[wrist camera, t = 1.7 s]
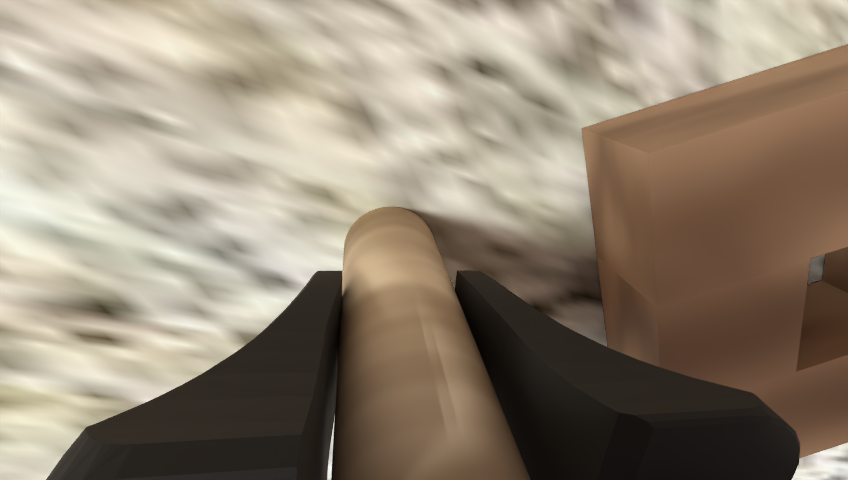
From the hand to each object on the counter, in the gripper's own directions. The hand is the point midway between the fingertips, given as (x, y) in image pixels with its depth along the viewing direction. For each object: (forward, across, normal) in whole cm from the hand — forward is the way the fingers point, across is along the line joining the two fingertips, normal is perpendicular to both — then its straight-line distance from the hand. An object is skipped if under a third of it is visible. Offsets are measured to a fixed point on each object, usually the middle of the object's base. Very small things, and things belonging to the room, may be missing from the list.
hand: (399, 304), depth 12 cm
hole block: (+3, -15, 0) cm, 15 cm away
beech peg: (+3, 0, 0) cm, 3 cm away
